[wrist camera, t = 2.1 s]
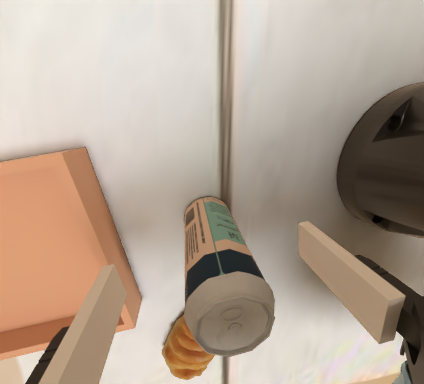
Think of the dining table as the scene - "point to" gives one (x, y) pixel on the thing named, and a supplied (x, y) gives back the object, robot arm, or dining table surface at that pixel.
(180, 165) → the dining table surface
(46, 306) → the terracotta dish
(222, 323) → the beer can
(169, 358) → the pastry
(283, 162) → the dining table surface
